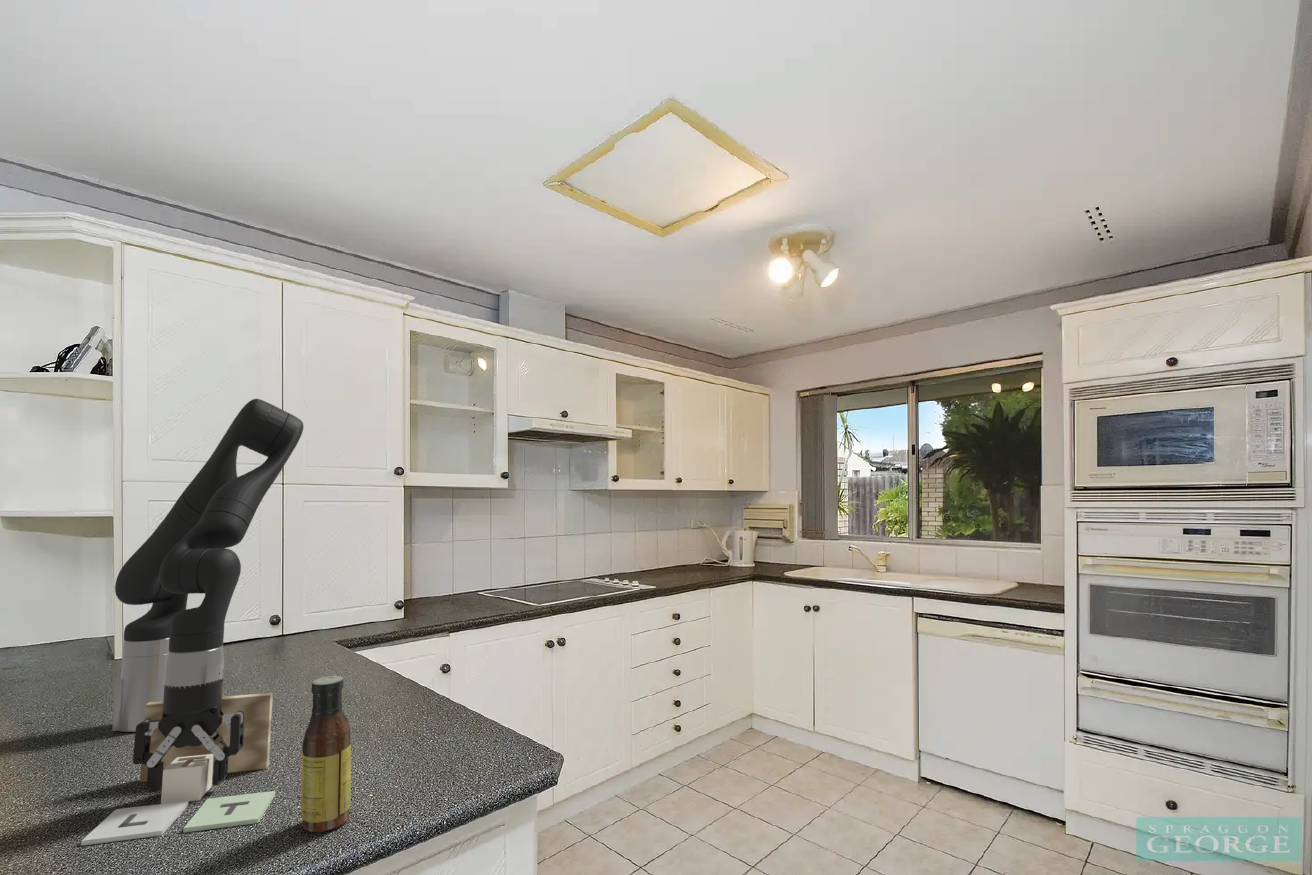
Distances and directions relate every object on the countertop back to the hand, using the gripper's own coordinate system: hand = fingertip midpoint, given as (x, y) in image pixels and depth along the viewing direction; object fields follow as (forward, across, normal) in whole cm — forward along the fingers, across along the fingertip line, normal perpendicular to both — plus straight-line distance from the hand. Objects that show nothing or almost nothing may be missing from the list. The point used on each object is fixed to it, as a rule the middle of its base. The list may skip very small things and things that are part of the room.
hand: (187, 786), depth 100 cm
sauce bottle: (+1, +22, -16) cm, 27 cm away
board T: (+1, +8, -8) cm, 12 cm away
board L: (+1, -3, -8) cm, 9 cm away
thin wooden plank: (+1, 0, +8) cm, 8 cm away
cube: (+1, 0, 0) cm, 1 cm away
